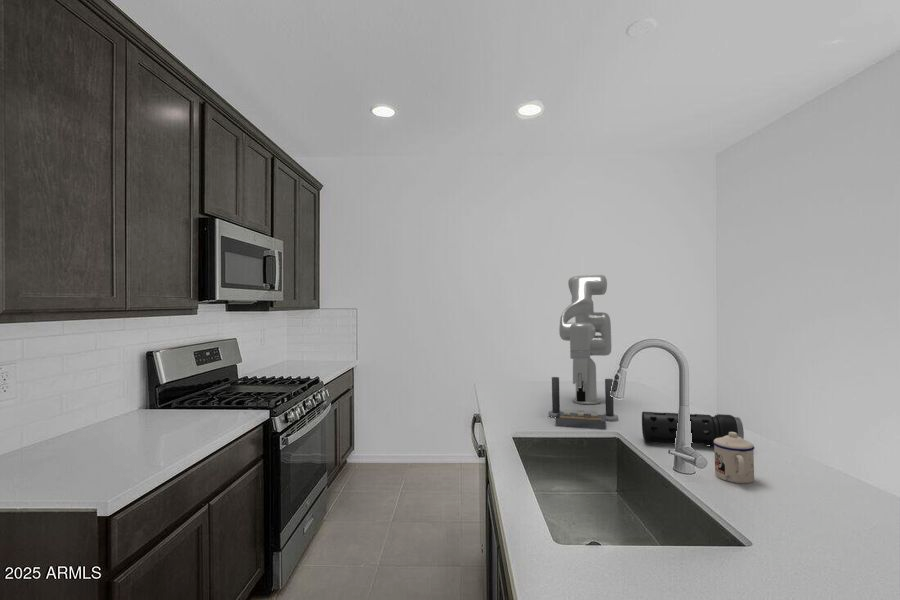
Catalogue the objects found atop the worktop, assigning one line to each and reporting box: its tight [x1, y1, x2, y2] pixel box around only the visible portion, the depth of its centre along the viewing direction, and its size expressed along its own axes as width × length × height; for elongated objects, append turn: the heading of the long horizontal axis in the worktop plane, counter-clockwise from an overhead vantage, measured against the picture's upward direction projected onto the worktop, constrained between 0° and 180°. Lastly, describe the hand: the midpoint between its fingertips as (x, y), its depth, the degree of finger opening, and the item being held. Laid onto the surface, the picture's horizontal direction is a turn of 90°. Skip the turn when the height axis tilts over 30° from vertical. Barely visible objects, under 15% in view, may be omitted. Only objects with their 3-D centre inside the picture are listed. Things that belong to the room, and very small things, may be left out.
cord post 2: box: [601, 378, 619, 422], centre depth 179 cm, size 6×6×16 cm
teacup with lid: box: [713, 432, 755, 484], centre depth 115 cm, size 12×9×12 cm
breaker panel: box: [554, 409, 607, 430], centre depth 172 cm, size 10×18×5 cm, turn 70°
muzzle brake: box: [641, 411, 745, 446], centre depth 145 cm, size 10×28×10 cm, turn 72°
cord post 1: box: [547, 376, 564, 418], centre depth 186 cm, size 6×6×16 cm
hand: (581, 401), depth 177 cm, fingers closed
